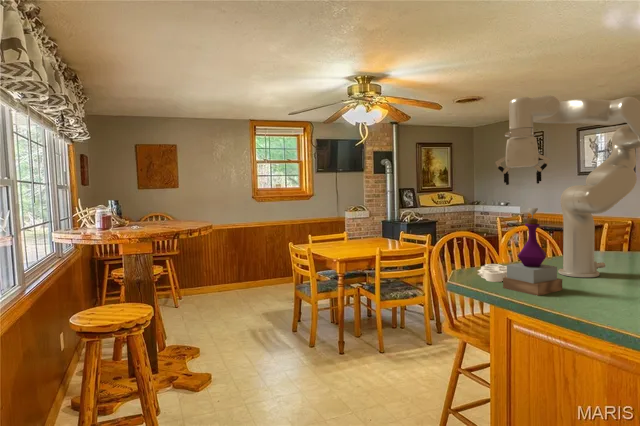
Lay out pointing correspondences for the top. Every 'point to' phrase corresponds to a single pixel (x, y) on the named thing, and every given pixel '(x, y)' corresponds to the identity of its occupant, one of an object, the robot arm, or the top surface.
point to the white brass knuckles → (493, 272)
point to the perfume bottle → (532, 244)
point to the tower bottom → (532, 286)
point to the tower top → (532, 273)
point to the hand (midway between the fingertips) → (522, 184)
